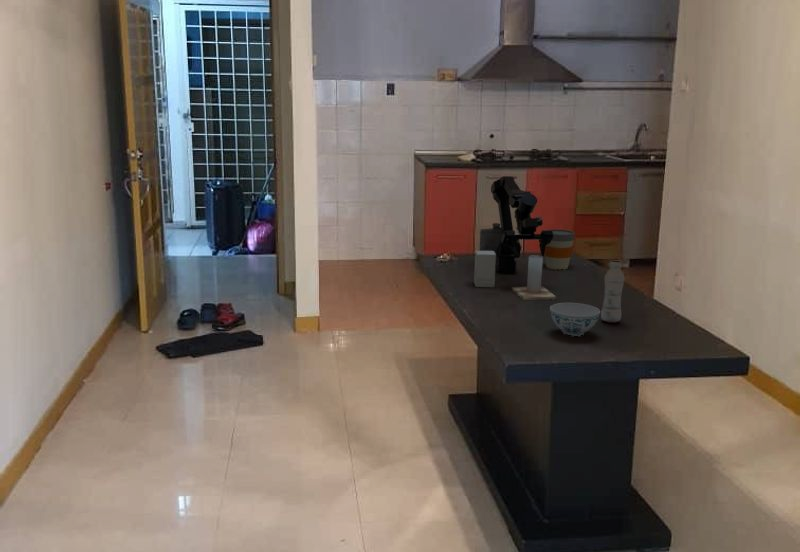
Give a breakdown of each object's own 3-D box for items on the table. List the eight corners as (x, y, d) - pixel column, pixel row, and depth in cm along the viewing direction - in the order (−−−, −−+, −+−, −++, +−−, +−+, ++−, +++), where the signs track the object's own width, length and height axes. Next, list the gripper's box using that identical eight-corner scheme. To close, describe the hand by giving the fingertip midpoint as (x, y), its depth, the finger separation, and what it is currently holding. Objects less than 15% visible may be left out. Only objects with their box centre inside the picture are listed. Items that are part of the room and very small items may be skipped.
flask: (477, 265, 329) (478, 223, 325) (508, 264, 333) (510, 222, 329) (480, 267, 326) (482, 224, 322) (512, 266, 330) (514, 223, 325)
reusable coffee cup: (540, 269, 325) (542, 233, 322) (543, 262, 337) (546, 228, 333) (571, 271, 322) (573, 235, 318) (573, 265, 333) (576, 230, 330)
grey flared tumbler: (524, 291, 285) (526, 256, 282) (531, 288, 289) (533, 254, 286) (535, 294, 282) (537, 258, 279) (543, 291, 286) (545, 256, 283)
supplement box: (494, 287, 295) (496, 254, 292) (475, 287, 295) (476, 254, 292) (492, 282, 302) (494, 250, 299) (473, 282, 302) (474, 250, 299)
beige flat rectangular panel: (511, 289, 292) (512, 286, 292) (542, 288, 294) (543, 286, 293) (523, 300, 278) (523, 297, 277) (556, 299, 279) (556, 296, 279)
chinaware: (562, 323, 252) (564, 299, 250) (606, 332, 243) (608, 308, 241) (539, 333, 241) (541, 309, 239) (584, 344, 232) (586, 319, 230)
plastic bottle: (598, 322, 253) (603, 262, 248) (603, 317, 259) (608, 258, 254) (618, 325, 250) (623, 264, 245) (622, 320, 256) (628, 260, 251)
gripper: (504, 209, 287) (511, 245, 279) (553, 208, 290) (561, 244, 282) (498, 226, 297) (504, 261, 289) (545, 225, 299) (553, 260, 292)
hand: (531, 256), depth 288 cm, fingers open, 9 cm apart
